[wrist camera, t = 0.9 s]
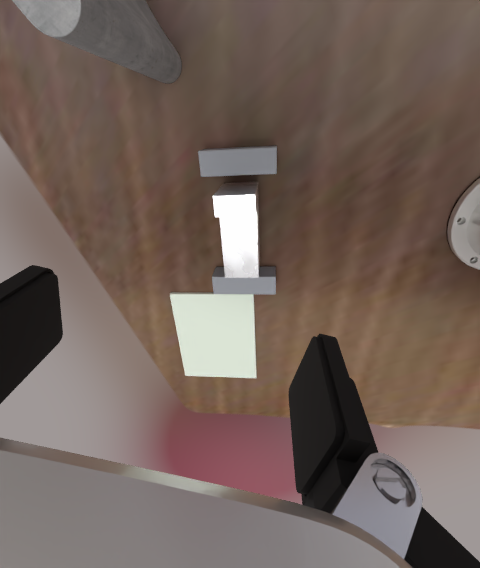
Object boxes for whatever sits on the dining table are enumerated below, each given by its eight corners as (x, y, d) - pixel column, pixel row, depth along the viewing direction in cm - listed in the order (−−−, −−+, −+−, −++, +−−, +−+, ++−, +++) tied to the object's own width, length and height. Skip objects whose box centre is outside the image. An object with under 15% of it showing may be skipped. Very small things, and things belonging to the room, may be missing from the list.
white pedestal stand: (258, 181, 34) (254, 194, 27) (260, 260, 38) (257, 288, 32) (224, 182, 34) (212, 196, 27) (230, 260, 39) (221, 288, 32)
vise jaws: (276, 145, 31) (276, 147, 29) (275, 283, 39) (275, 294, 37) (204, 149, 32) (198, 151, 30) (217, 283, 40) (213, 294, 38)
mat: (253, 292, 40) (253, 294, 40) (256, 375, 48) (256, 378, 48) (170, 292, 42) (169, 294, 41) (186, 373, 49) (185, 375, 49)
